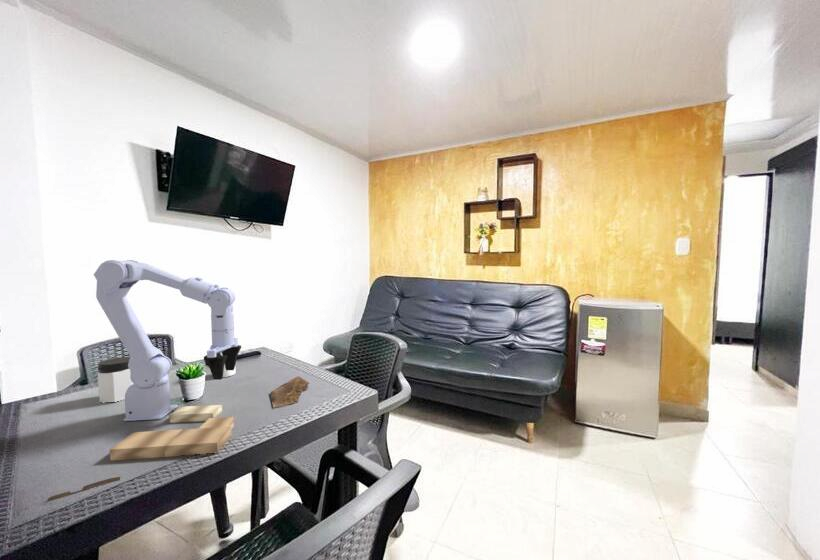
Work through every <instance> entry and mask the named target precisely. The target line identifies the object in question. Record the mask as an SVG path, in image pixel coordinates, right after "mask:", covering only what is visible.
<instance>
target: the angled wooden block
mask: <svg viewBox="0 0 820 560" xmlns="http://www.w3.org/2000/svg"><path fill="white" fill-rule="evenodd" d="M234 420H235V419H234V416H226V417H223V416H222V417H216V418H209V419H208V420H207V421H204V423H203V424H201V425H200V426H199V427H198V428H182V429H170V430H169V429H168V430H166V429H165V430H151V431H150V430H148V431H135V432H132V433H131V434H129V435H128V436H126V437H125V438H124V439H122V440H121V441H120V442H118V443H117V444H115V446H112V447H111V448H110V449H109V457H110V462H111V461H113V462H114V461H126V460H137V459H139V460H141V459H152V458H153V459H157V458H168V457H182V456H181V455H186V456H196V455H195V454H200V455H207V454H206V453H215V452H218V451H219V450H220V449H221V447H222V446H223V445H224V444H225V443H226V444H227V443H228V441H229V440H230V439H231V438H232V429H233V428H234V427H235V421H234ZM230 437H231V438H230ZM229 438H230V439H229ZM228 439H229V440H228ZM226 444H225V445H226ZM225 445H224V446H225ZM224 446H223V447H224ZM223 447H222V448H223ZM221 450H222V449H221ZM221 450H220V451H221ZM220 451H219V452H220ZM219 452H218V453H219ZM215 454H216V453H215Z"/></svg>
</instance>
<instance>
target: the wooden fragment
mask: <svg viewBox="0 0 820 560" xmlns="http://www.w3.org/2000/svg"><path fill="white" fill-rule="evenodd" d="M309 384H310V382H308V381H307V380H306V379H303V378H302V377H301V376H296V377H294V378H292V379H290V380H288V382H287V381H286V382H285V383H282V385H279V386H278V387H276V388H275V389H273V390H272V391H270V393H269V396H270V398H271V404H272V410H274V409H280V408H285V407H287V406H290V405H293V404H297V403H298V402H299V398H300V396H301V393H302V392H305V391H306V390H307V389H309V387H308V385H309Z"/></svg>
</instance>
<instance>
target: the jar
mask: <svg viewBox="0 0 820 560" xmlns="http://www.w3.org/2000/svg"><path fill="white" fill-rule="evenodd" d="M129 359H130V356H124V357H123V356H121V357H115V358H110V359H106V360H102V361H100V362H99V363H98V364H97V371H98V373H97V385H98V399H99V403H100V402H116V403H118V402H117V401H119V402H121V401H120V400H122V401H124V400H123V399H125V393H126V391H127V389H128V388H129V387H130V386H131V385H133V383H132V381H131V378H130V375H131V372H130V369H129V367H128V363H129Z"/></svg>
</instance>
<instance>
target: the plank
mask: <svg viewBox="0 0 820 560" xmlns="http://www.w3.org/2000/svg"><path fill="white" fill-rule="evenodd" d="M222 406H223V405H222V404H207V405H189V406H186V405H185V406H180V407H177V409H176V410H173V412H172V413H170V414H169V423H170V424H171V423H173V424H174V423H175V424H176V423H189V422H190V423H192V422H193V423H194V422H206V421H207V420H208V419H209V418H218V417H219V416H220V415H221V414H222V412H223V407H222Z"/></svg>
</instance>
